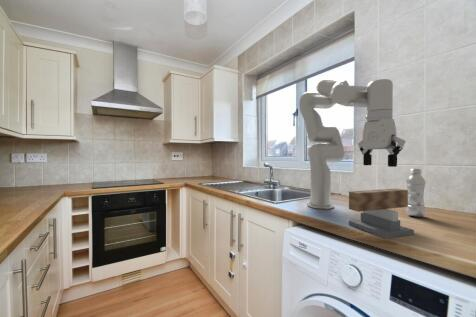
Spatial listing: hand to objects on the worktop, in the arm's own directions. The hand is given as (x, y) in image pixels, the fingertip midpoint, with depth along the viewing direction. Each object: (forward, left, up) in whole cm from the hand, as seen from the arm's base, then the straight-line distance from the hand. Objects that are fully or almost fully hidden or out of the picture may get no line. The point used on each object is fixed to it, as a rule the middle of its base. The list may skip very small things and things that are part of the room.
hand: (379, 165), depth 78 cm
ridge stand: (0, 0, -22) cm, 22 cm away
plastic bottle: (-8, +29, -22) cm, 37 cm away
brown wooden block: (0, 0, -15) cm, 15 cm away
